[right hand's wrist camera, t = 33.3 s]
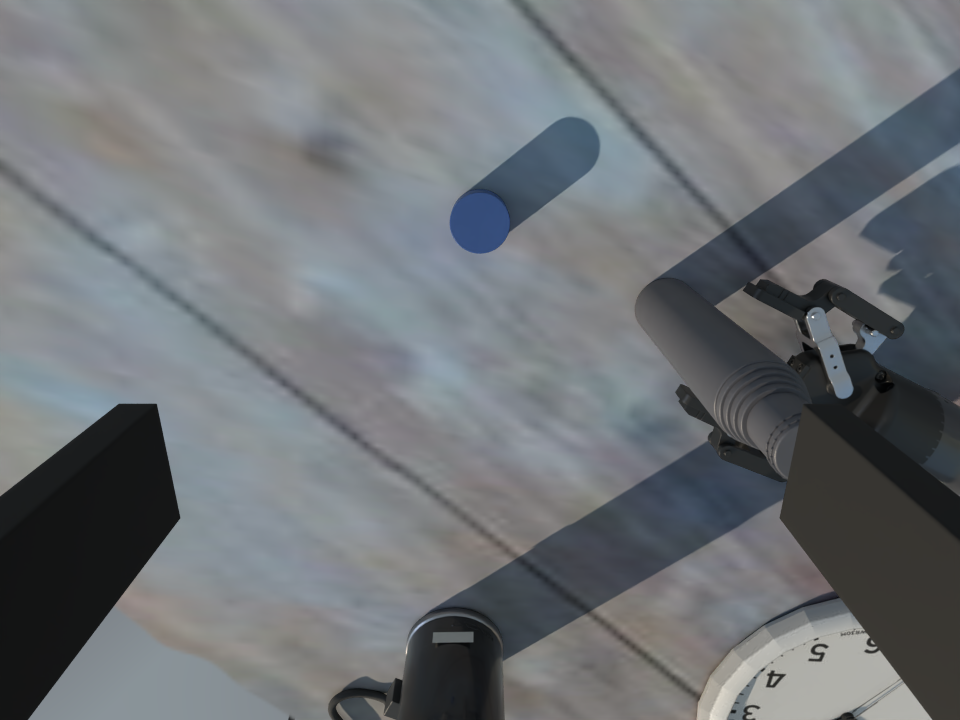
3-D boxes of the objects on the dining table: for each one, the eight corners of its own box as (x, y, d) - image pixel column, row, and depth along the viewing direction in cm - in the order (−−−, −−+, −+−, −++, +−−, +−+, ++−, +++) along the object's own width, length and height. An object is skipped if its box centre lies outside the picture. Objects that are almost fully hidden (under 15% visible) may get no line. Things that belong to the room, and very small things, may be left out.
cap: (481, 259, 47) (481, 265, 45) (439, 220, 46) (437, 225, 44) (520, 216, 46) (522, 221, 44) (478, 176, 45) (478, 179, 43)
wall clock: (1055, 615, 57) (946, 829, 68) (1040, 603, 59) (936, 813, 70) (735, 599, 57) (676, 817, 67) (728, 586, 58) (672, 801, 69)
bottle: (635, 279, 48) (761, 408, 26) (696, 275, 48) (872, 400, 26) (634, 337, 50) (751, 501, 28) (692, 333, 49) (856, 495, 28)
